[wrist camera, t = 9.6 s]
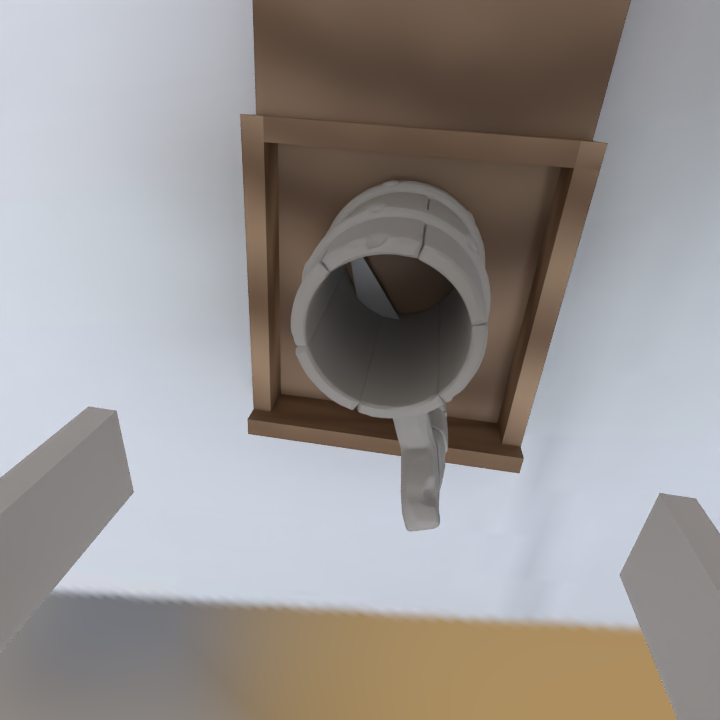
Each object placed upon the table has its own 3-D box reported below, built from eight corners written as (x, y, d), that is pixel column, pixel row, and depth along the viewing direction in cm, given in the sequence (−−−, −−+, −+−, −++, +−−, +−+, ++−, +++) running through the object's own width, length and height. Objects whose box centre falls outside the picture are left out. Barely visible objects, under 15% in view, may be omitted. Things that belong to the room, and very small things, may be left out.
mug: (468, 156, 21) (503, 191, 10) (501, 381, 26) (549, 561, 15) (310, 198, 23) (203, 264, 12) (369, 401, 28) (329, 574, 17)
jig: (261, -105, 19) (216, -165, 15) (643, -93, 18) (704, -155, 14) (272, 392, 30) (248, 433, 26) (507, 424, 29) (519, 473, 25)
